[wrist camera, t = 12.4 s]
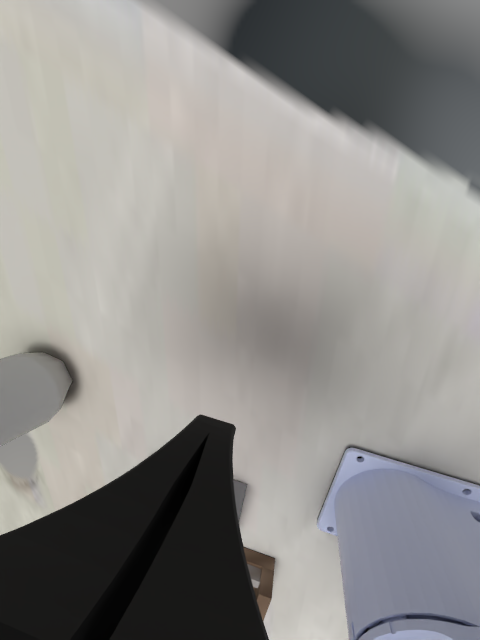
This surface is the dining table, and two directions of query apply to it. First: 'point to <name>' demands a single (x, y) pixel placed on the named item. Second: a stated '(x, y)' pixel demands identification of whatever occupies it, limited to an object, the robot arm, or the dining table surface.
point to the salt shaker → (30, 392)
